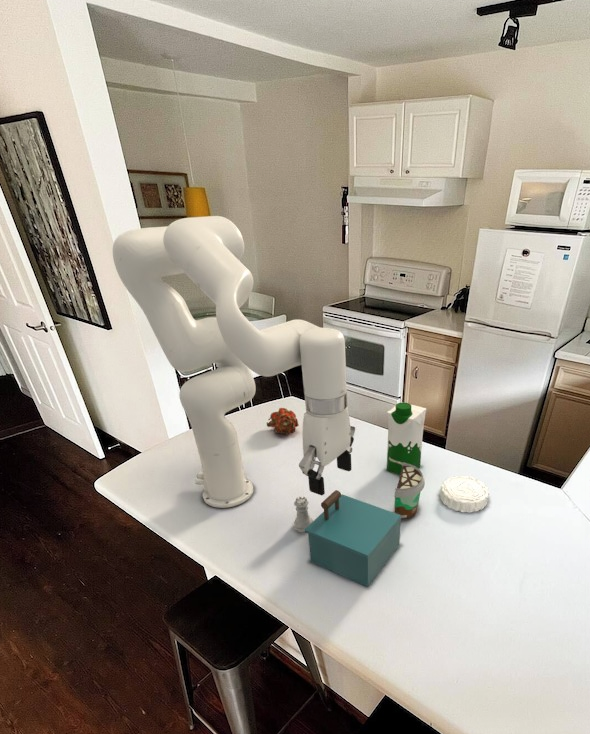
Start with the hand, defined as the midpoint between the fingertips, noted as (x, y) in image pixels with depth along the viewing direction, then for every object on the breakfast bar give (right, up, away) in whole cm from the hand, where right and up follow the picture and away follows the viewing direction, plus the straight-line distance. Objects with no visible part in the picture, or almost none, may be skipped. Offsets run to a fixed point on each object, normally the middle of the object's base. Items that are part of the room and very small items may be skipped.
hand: (331, 480), depth 89 cm
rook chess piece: (-8, -11, +15) cm, 20 cm away
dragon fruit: (-20, +16, +53) cm, 59 cm away
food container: (+18, -7, +20) cm, 28 cm away
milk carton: (+17, +4, +36) cm, 40 cm away
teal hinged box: (+5, -16, +8) cm, 18 cm away
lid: (+4, -9, +3) cm, 11 cm away
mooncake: (+32, -5, +24) cm, 40 cm away
